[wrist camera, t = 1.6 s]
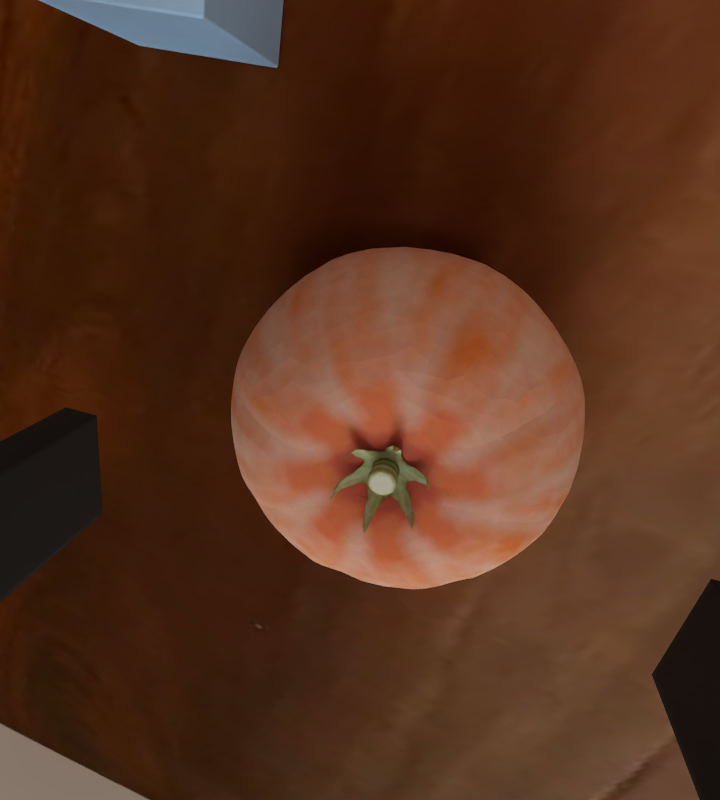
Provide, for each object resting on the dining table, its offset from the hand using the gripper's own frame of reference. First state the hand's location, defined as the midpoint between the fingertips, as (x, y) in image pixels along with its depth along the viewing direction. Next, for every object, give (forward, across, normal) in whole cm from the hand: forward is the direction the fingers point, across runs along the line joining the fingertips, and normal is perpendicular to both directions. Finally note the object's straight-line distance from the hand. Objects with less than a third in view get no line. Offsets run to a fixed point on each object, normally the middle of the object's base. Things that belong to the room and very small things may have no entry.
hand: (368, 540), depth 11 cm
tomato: (+10, 0, 0) cm, 10 cm away
